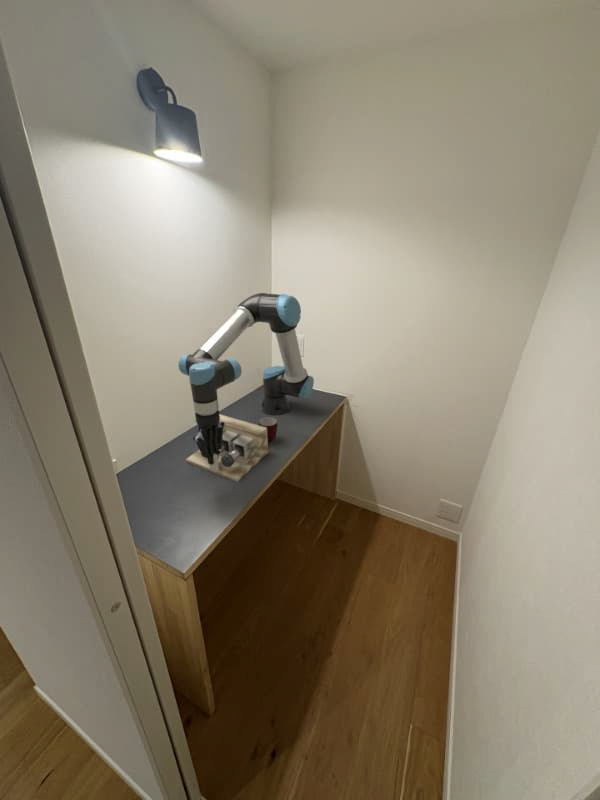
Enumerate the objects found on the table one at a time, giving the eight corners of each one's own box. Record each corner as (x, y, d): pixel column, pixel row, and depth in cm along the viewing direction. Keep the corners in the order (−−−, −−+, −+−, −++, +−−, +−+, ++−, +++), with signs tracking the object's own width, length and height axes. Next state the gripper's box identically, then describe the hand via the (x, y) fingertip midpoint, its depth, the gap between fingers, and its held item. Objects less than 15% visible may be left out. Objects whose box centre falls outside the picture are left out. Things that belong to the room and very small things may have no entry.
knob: (235, 453, 126) (234, 443, 124) (245, 456, 124) (244, 446, 122) (221, 465, 119) (220, 454, 117) (231, 468, 117) (230, 458, 115)
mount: (220, 436, 144) (217, 413, 139) (268, 452, 134) (266, 427, 128) (186, 461, 127) (181, 436, 122) (237, 481, 117) (235, 454, 112)
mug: (267, 450, 135) (266, 430, 131) (252, 444, 139) (251, 425, 134) (281, 438, 143) (280, 419, 139) (266, 434, 147) (265, 415, 142)
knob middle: (221, 448, 129) (219, 438, 127) (230, 451, 127) (229, 441, 125) (206, 459, 122) (205, 449, 120) (216, 463, 120) (214, 452, 118)
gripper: (211, 400, 108) (218, 456, 118) (183, 416, 98) (193, 476, 108) (229, 405, 105) (234, 462, 115) (201, 422, 95) (210, 483, 105)
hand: (214, 469), depth 112 cm, fingers closed
